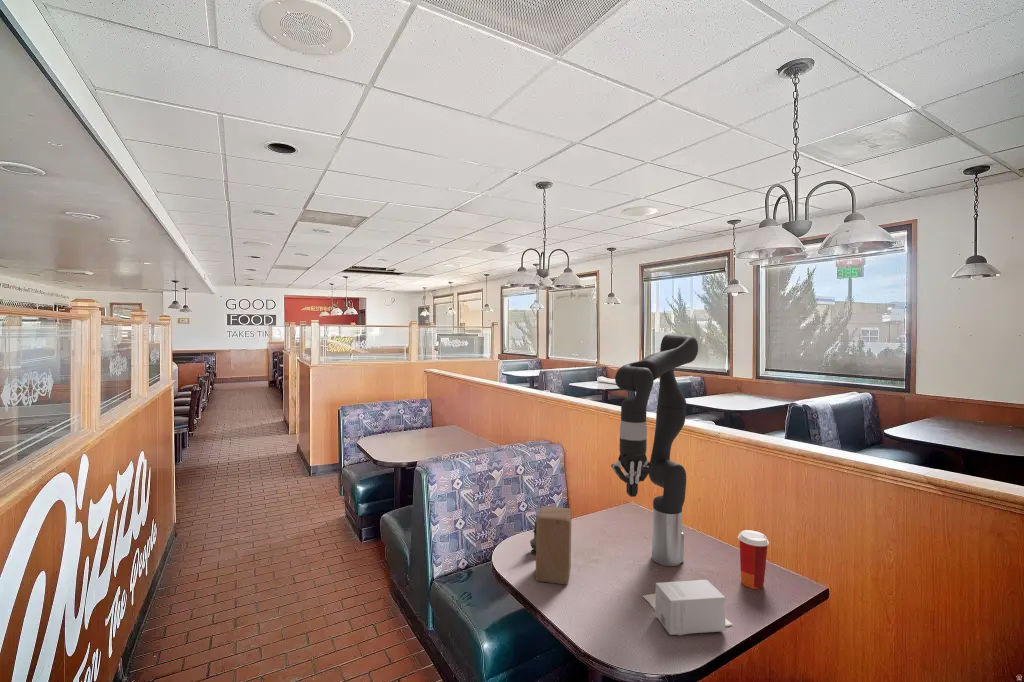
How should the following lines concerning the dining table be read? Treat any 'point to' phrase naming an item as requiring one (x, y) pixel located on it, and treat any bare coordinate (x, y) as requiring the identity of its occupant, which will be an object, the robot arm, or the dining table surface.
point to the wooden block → (553, 545)
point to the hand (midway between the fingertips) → (631, 495)
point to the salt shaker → (534, 542)
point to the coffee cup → (753, 558)
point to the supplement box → (690, 607)
